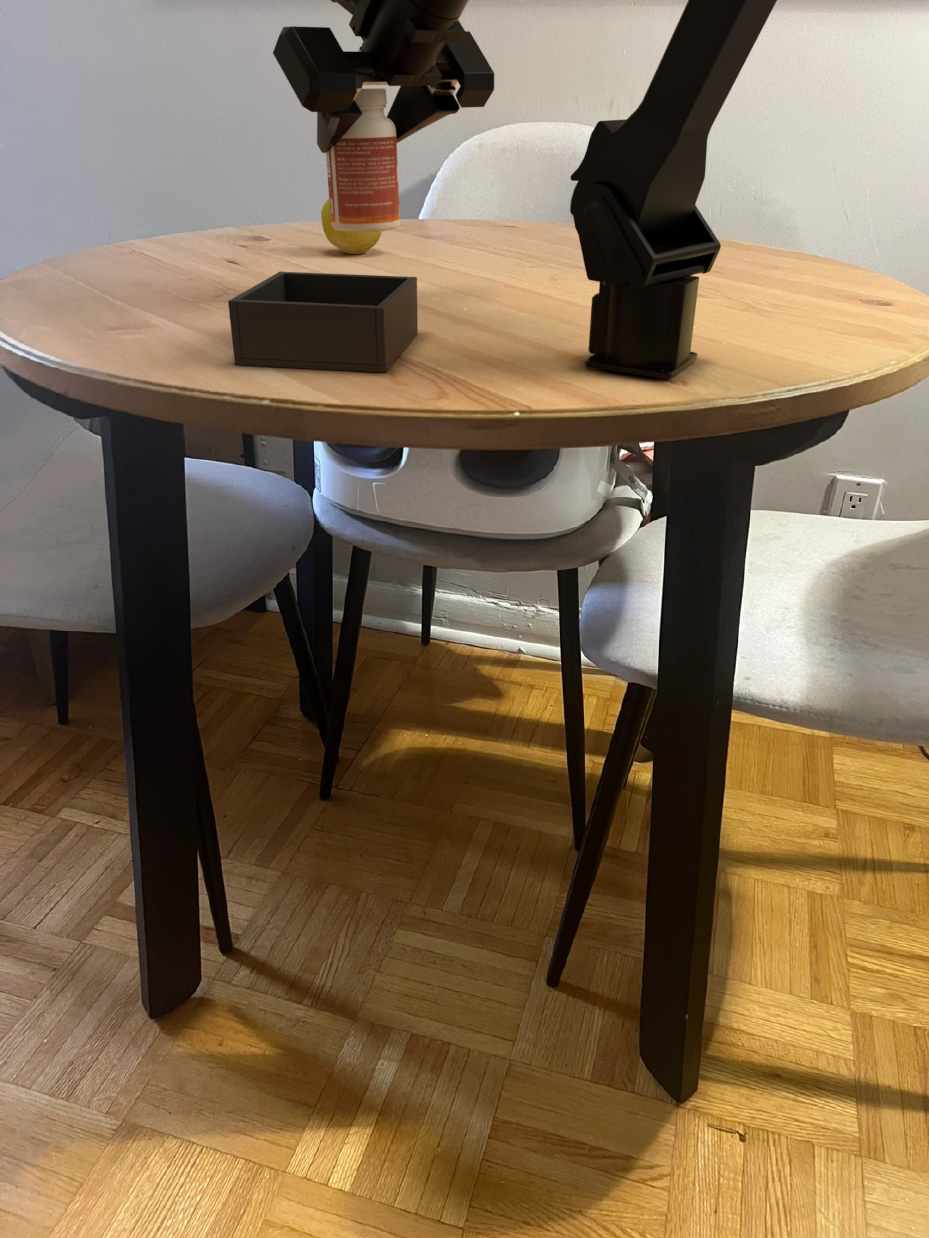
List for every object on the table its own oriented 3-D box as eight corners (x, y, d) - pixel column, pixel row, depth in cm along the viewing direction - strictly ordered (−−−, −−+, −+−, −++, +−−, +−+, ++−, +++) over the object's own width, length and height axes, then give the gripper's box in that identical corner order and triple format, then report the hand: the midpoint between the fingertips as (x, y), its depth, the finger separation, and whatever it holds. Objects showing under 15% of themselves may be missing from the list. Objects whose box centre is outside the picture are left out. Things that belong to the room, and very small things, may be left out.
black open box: (417, 335, 80) (417, 277, 77) (385, 373, 70) (383, 307, 68) (284, 328, 81) (279, 271, 79) (234, 364, 72) (227, 300, 69)
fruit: (315, 250, 114) (308, 134, 108) (370, 246, 117) (366, 133, 111) (336, 260, 109) (329, 139, 103) (393, 255, 111) (390, 137, 105)
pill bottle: (414, 228, 89) (410, 88, 83) (360, 235, 85) (352, 89, 80) (371, 222, 93) (364, 88, 87) (317, 229, 89) (307, 89, 84)
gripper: (472, -84, 80) (394, 73, 93) (273, -108, 70) (216, 73, 82) (538, 25, 79) (450, 169, 91) (345, 18, 68) (275, 183, 81)
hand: (352, 147), depth 86 cm, fingers closed on pill bottle, 6 cm apart
